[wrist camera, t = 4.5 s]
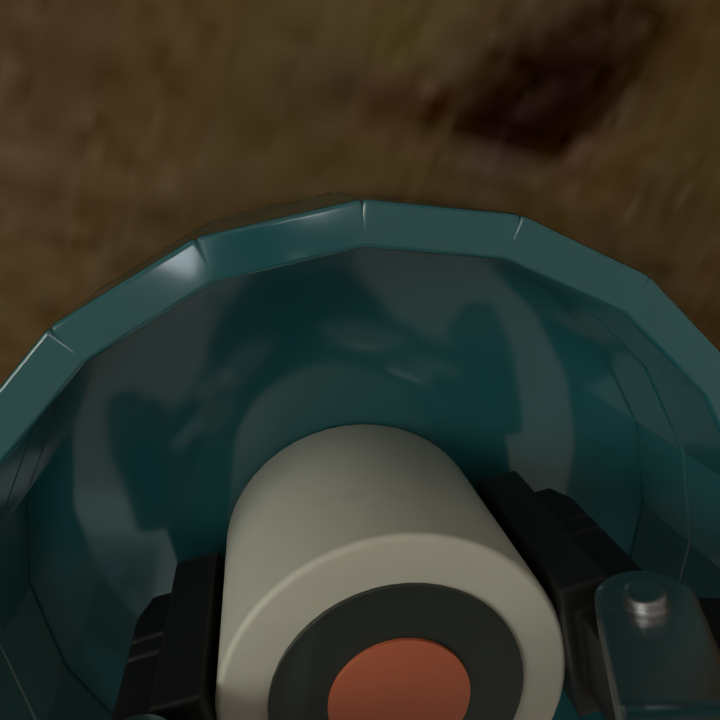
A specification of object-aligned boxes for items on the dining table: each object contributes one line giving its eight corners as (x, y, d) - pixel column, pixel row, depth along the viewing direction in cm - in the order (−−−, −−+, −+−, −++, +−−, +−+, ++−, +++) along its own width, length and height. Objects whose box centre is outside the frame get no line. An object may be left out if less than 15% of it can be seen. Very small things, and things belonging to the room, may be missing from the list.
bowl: (131, 859, 15) (94, 1061, 11) (-122, 294, 11) (-292, 349, 7) (674, 690, 16) (786, 827, 12) (628, 122, 12) (774, 102, 9)
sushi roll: (263, 677, 13) (267, 885, 9) (194, 462, 12) (164, 604, 8) (494, 609, 14) (589, 782, 10) (455, 393, 12) (550, 496, 8)
